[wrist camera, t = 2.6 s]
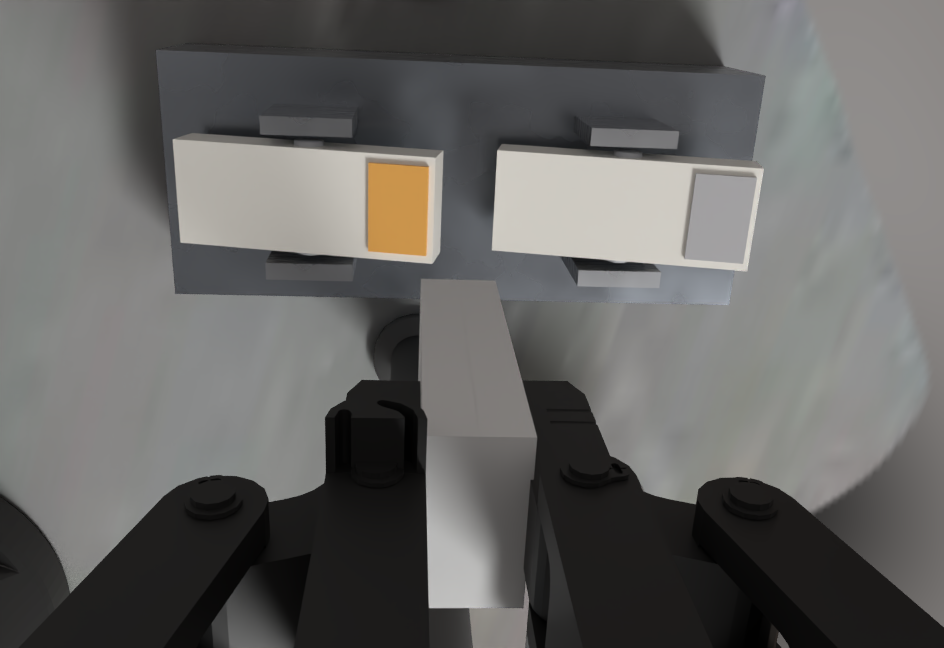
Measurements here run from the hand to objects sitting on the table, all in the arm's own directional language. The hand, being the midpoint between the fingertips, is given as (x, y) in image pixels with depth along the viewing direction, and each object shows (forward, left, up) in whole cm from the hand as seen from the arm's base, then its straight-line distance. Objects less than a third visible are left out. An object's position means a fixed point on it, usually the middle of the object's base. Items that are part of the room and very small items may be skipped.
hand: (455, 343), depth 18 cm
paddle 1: (-4, 0, -14) cm, 14 cm away
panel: (+1, 0, -21) cm, 21 cm away
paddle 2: (+7, 0, -14) cm, 15 cm away
